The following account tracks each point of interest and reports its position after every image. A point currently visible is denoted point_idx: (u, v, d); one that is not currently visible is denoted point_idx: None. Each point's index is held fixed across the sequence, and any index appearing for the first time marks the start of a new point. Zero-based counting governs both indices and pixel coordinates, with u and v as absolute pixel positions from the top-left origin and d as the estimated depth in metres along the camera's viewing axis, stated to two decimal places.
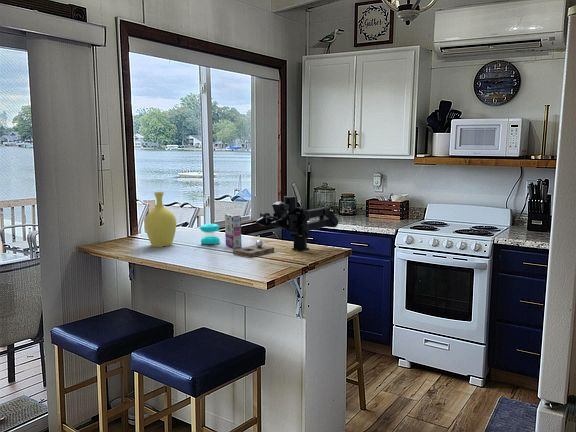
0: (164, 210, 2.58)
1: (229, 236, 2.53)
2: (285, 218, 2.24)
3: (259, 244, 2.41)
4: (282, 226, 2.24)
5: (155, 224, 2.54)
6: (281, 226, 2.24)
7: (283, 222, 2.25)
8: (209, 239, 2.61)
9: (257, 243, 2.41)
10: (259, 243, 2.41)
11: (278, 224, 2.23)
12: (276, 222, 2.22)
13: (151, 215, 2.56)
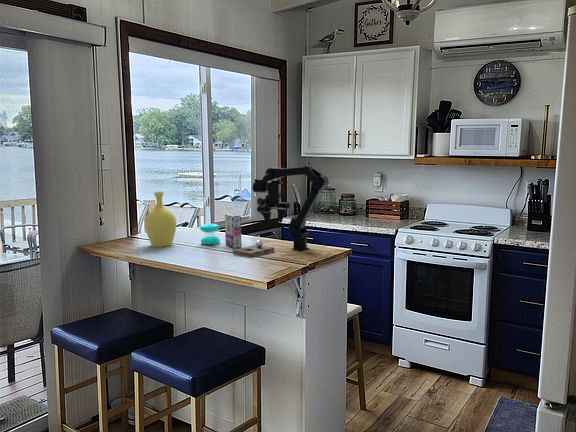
0: (164, 210, 2.58)
1: (229, 236, 2.53)
2: (260, 212, 2.44)
3: (259, 244, 2.41)
4: (267, 214, 2.43)
5: (155, 224, 2.54)
6: (267, 215, 2.43)
7: (265, 212, 2.44)
8: (209, 239, 2.61)
9: (257, 243, 2.41)
10: (259, 243, 2.41)
11: (266, 218, 2.44)
12: (265, 220, 2.45)
13: (151, 215, 2.56)
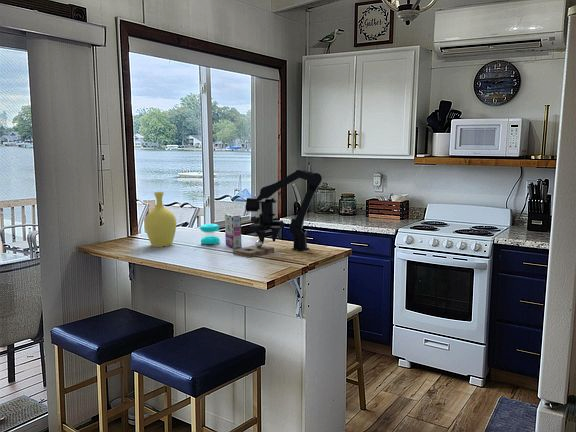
0: (164, 210, 2.58)
1: (229, 236, 2.53)
2: (254, 231, 2.42)
3: (259, 244, 2.41)
4: (261, 233, 2.41)
5: (155, 224, 2.54)
6: (261, 234, 2.41)
7: (259, 231, 2.42)
8: (209, 239, 2.61)
9: (257, 243, 2.41)
10: (259, 243, 2.41)
11: (261, 237, 2.42)
12: (260, 239, 2.43)
13: (151, 215, 2.56)
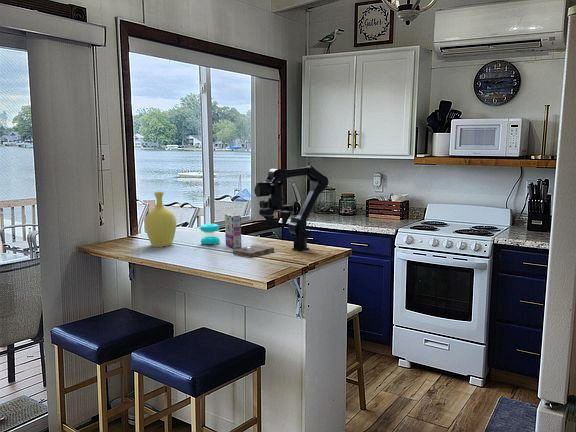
0: (164, 210, 2.58)
1: (229, 236, 2.53)
2: (263, 216, 2.32)
3: (252, 248, 2.37)
4: (270, 218, 2.31)
5: (155, 224, 2.54)
6: (270, 219, 2.31)
7: None
8: (209, 239, 2.61)
9: (251, 247, 2.38)
10: (252, 248, 2.37)
11: (269, 222, 2.32)
12: (268, 224, 2.33)
13: (151, 215, 2.56)
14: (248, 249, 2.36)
